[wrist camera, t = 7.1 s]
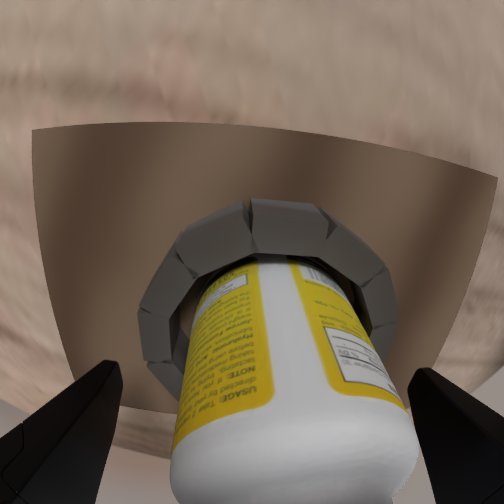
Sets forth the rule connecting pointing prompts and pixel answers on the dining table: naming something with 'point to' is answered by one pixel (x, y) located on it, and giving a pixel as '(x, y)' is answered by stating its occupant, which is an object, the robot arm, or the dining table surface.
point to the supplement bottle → (285, 394)
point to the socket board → (211, 167)
